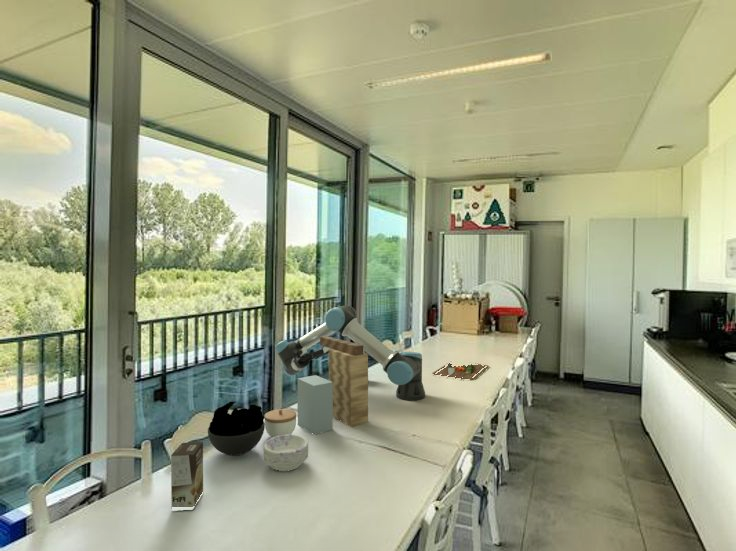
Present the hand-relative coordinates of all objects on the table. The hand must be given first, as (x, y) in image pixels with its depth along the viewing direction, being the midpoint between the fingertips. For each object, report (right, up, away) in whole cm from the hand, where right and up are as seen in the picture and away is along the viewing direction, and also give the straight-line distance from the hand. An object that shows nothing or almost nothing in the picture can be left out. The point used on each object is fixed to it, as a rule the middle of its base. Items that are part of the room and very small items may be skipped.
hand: (317, 347), depth 216 cm
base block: (+2, -28, -32) cm, 43 cm away
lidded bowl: (-10, -29, -42) cm, 52 cm away
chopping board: (+85, -26, +64) cm, 110 cm away
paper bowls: (-3, -30, -67) cm, 73 cm away
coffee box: (-27, -30, -90) cm, 99 cm away
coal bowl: (-23, -29, -57) cm, 68 cm away
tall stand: (+16, -28, -22) cm, 39 cm away
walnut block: (+12, +2, -18) cm, 22 cm away
